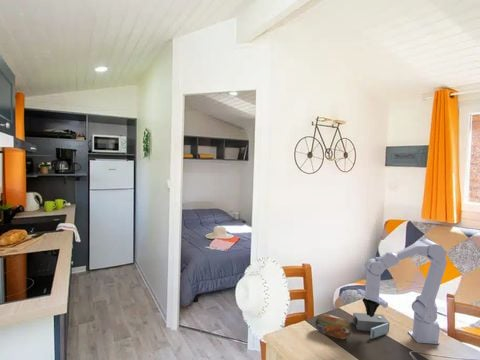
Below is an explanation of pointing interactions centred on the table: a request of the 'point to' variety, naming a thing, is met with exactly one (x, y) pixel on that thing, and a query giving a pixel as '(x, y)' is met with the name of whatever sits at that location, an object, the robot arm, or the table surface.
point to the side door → (379, 330)
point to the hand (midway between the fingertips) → (370, 315)
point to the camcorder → (368, 321)
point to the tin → (333, 326)
